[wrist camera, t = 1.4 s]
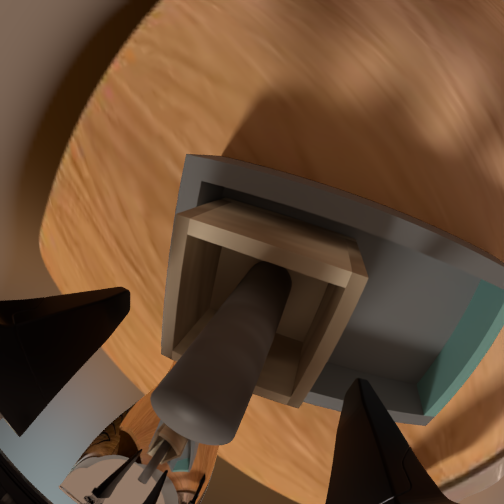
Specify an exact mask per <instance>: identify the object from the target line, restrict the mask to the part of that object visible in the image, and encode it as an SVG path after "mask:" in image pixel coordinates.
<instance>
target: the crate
mask: <svg viewBox="0 0 504 504" xmlns="http://www.w3.org/2000/svg"><path fill="white" fill-rule="evenodd" d="M367 280H368V274H367V271H366V268H365V265H364V262H363V259H362V256H361V253H360V250H359V247H358V244H357V241H356V239H354V238H351V237H348V236H345V235H343V234H340V233H337V232H334V231H331V230H328V229H325V228H322V227H319V226H316V225H313V224H310V223H307V222H304V221H301V220H298V219H295V218H292V217H288V216H285V215H282V214H279V213H276V212H273V211H269V210H266V209H263V208H259V207H256V206H253V205H249V204H246V203H243V202H239V201H236V200H232V199H229V198H222V199H219V200H216V201H213V202H210V203H207V204H204V205H201V206H198V207H195V208H192V209H189V210H186V211H183V212H180V213H177V214H176V215H175V221H174V228H173V235H172V242H171V249H170V257H169V265H168V274H167V283H166V293H165V304H164V316H163V330H162V347H161V354H162V355H164V356H166V357H168V358H170V359H172V360H174V361H176V364H175V365H174V366H173V367H172V369H171V370H170V371H169V372H168V374H167V375H166V376H165V377H164V379H163V380H162V381H161V382H160V384H159V385H158V386H157V387H156V389H155V390H154V391H153V392H152V394H151V397H150V401H151V405H152V407H153V410H154V411H155V413H156V414H157V416H158V417H159V418H160V419H161V420H162V421H163V422H164V423H165V424H166V425H167V426H168V427H170V428H171V429H172V430H174V431H175V432H177V433H178V434H180V435H182V436H184V437H186V438H188V439H190V440H192V441H195V442H198V443H202V444H206V445H224V444H227V443H229V442H231V441H232V440H233V438H234V436H235V434H236V432H237V430H238V427H239V425H240V422H241V420H242V418H243V415H244V413H245V411H246V408H247V406H248V403H249V401H250V398H251V396H252V393H253V394H255V395H258V396H261V397H264V398H267V399H270V400H273V401H276V402H279V403H282V404H286V405H289V406H292V407H296V408H299V407H300V405H301V404H302V402H303V401H304V399H305V398H306V396H307V394H308V393H309V391H310V390H311V388H312V386H313V385H314V383H315V381H316V380H317V378H318V376H319V375H320V373H321V371H322V370H323V368H324V366H325V364H326V363H327V361H328V359H329V357H330V355H331V354H332V352H333V350H334V348H335V346H336V344H337V343H338V341H339V339H340V337H341V335H342V333H343V331H344V329H345V327H346V325H347V323H348V321H349V319H350V317H351V315H352V313H353V311H354V309H355V307H356V305H357V303H358V300H359V298H360V296H361V294H362V292H363V289H364V287H365V285H366V283H367Z"/></svg>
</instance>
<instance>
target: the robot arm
mask: <svg viewBox="0 0 504 504" xmlns="http://www.w3.org/2000/svg"><path fill="white" fill-rule="evenodd" d="M129 310H130V291H129V290H127V289H125V288H123V287H115V288H108V289H101V290H94V291H87V292H79V293H72V294H65V295H58V296H50V297H46V298H44V297H43V298H34V299H25V300H7V301H6V300H5V301H0V420H1V419H2V418H4V419H5V421H6V422H7V423H8V424H9V425H10V427H11V428H12V429H13V430H14V432H15V433H16V434H17V435H18V436H19V437H20V436H21V435H22V434H23V433H24V432H25V431H26V430H27V428H28V427H29V426H30V425H31V424H32V422H33V421H34V420H35V419H36V418H37V416H38V415H39V414H40V413H41V412H42V411H43V409H44V408H45V407H46V406H47V404H49V402H50V401H51V400H52V399H53V398H54V397H55V395H57V393H58V392H59V391H60V390H61V389H62V388H63V387H64V385H65V384H66V383H67V382H68V381H69V380H70V379H71V378H72V377H73V376H74V375H75V373H76V372H77V371H78V370H79V369H80V368H81V367H82V366H83V365H84V364H85V363H86V361H88V359H89V358H90V357H91V356H92V355H93V354H94V353H95V352H96V351H97V350H98V349H99V348H100V347H101V346H102V345H103V344H104V343H105V342H106V340H107V339H108V338H109V337H110V336H111V335H112V333H113V332H114V331H115V329H116V328H117V327H118V325H119V324H120V323H121V322H122V320H123V319H124V318H125V317H126V315H127V314H128V312H129ZM0 504H53V503H52V502H51V501H50V500H48V499H47V498H46V497H45V496H44V495H43V494H42V493H41V492H40V491H39V490H37V488H35V487H34V486H33V485H32V484H31V483H30V482H29V481H28V480H27V479H26V478H25V476H24V475H23V474H22V473H21V472H20V471H19V470H18V469H17V468H16V467H15V466H14V464H13V463H12V462H11V461H10V460H9V459H8V457H7V456H6V455H5V454H4V453H3V451H2V450H1V449H0ZM325 504H459V503H455V502H453V501H451V500H449V499H448V498H447V497H446V496H445V495H444V494H443V493H442V492H441V490H440V489H439V488H438V486H437V485H436V484H435V482H434V481H433V480H432V478H431V477H430V476H429V474H428V473H427V472H426V470H425V469H424V468H423V466H422V465H421V463H420V462H419V460H418V459H417V457H416V455H415V454H414V452H413V451H412V449H411V447H409V444H408V443H407V441H406V439H405V438H404V436H403V434H402V433H401V431H400V430H399V428H398V426H397V425H396V423H395V422H394V420H393V418H392V417H391V415H390V414H389V412H388V411H387V409H386V407H385V406H384V404H383V403H382V401H381V400H380V398H379V396H378V395H377V393H376V392H375V390H374V389H373V387H372V386H371V384H370V383H369V381H368V380H367V379H363V378H359V377H358V378H356V379H355V380H354V382H353V383H352V385H351V386H350V388H349V389H348V390H347V392H346V394H345V397H344V401H343V406H342V411H341V415H340V420H339V424H338V429H337V434H336V442H335V450H334V457H333V464H332V470H331V477H330V482H329V488H328V493H327V499H326V503H325Z"/></svg>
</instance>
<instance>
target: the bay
mask: <svg viewBox="0 0 504 504" xmlns="http://www.w3.org/2000/svg"><path fill="white" fill-rule="evenodd" d="M222 198H229V199H232V200H236V201H239V202H243V203H246V204H249V205H253V206H256V207H259V208H263V209H266V210H269V211H273V212H276V213H279V214H282V215H285V216H288V217H292V218H295V219H298V220H301V221H304V222H307V223H310V224H313V225H316V226H319V227H322V228H325V229H328V230H331V231H334V232H337V233H340V234H343V235H345V236H348V237H351V238H354V239H356V241H357V244H358V247H359V250H360V253H361V256H362V259H363V262H364V265H365V268H366V271H367V274H368V280H367V283H366V285H365V287H364V289H363V292H362V294H361V296H360V298H359V300H358V303H357V305H356V307H355V309H354V311H353V313H352V315H351V317H350V319H349V321H348V323H347V325H346V327H345V329H344V331H343V333H342V335H341V337H340V339H339V341H338V343H337V344H336V346H335V348H334V350H333V352H332V354H331V355H330V357H329V359H328V361H327V363H326V364H325V366H324V368H323V370H322V371H321V373H320V375H319V376H318V378H317V380H316V381H315V383H314V385H313V386H312V388H311V390H310V391H309V393H308V394H307V396H306V398H305V399H304V401H303V402H306V403H310V404H313V405H317V406H321V407H324V408H328V409H332V410H336V411H342V406H343V401H344V397H345V394H346V392H347V390H348V389H349V388H350V386H351V385H352V383H353V382H354V380H355V379H356V378H358V377H359V378H363V379H367V380H368V381H369V383H370V384H371V386H372V387H373V389H374V390H375V392H376V393H377V395H378V396H379V398H380V400H381V401H382V403H383V404H384V406H385V407H386V409H387V411H388V412H389V414H390V415H391V417H392V418H393V420H394V422H399V423H406V424H414V425H423V426H426V425H427V424H428V423H429V422H430V421H431V420H432V419H433V418H434V417H435V416H436V415H437V414H438V413H439V412H440V411H441V410H442V408H443V407H444V406H445V405H446V404H447V403H448V402H449V401H450V400H451V398H452V397H453V396H454V395H455V394H456V393H457V391H458V390H459V389H460V388H461V386H462V385H463V384H464V383H465V381H466V380H467V379H468V378H469V376H470V375H471V374H472V372H473V371H474V370H475V368H476V367H477V366H478V364H479V363H480V361H481V360H482V358H483V357H484V356H485V354H486V353H487V351H488V350H489V348H490V347H491V345H492V343H493V342H494V340H495V339H496V337H497V335H498V334H499V332H500V330H501V329H502V327H503V325H504V263H503V262H502V261H500V260H499V259H497V258H496V257H495V256H493V255H491V254H489V253H487V252H486V251H484V250H482V249H480V248H478V247H476V246H474V245H472V244H470V243H468V242H466V241H464V240H462V239H460V238H458V237H456V236H454V235H452V234H450V233H447V232H445V231H443V230H441V229H439V228H437V227H434V226H432V225H430V224H428V223H425V222H423V221H421V220H418V219H416V218H414V217H411V216H409V215H406V214H404V213H402V212H399V211H397V210H394V209H392V208H389V207H387V206H384V205H381V204H379V203H376V202H373V201H371V200H368V199H365V198H363V197H360V196H357V195H354V194H351V193H349V192H346V191H343V190H340V189H337V188H334V187H331V186H328V185H325V184H322V183H319V182H315V181H312V180H309V179H306V178H302V177H299V176H296V175H292V174H289V173H285V172H282V171H278V170H275V169H271V168H267V167H264V166H260V165H256V164H252V163H248V162H244V161H240V160H236V159H232V158H227V157H223V156H213V155H195V154H186V158H185V163H184V168H183V173H182V178H181V183H180V189H179V194H178V200H177V206H176V212H175V215H176V214H177V213H180V212H183V211H186V210H189V209H192V208H195V207H198V206H201V205H204V204H207V203H210V202H213V201H216V200H219V199H222ZM174 221H175V218H174ZM173 228H174V225H173ZM172 235H173V232H172ZM171 242H172V239H171ZM170 249H171V246H170ZM169 257H170V254H169ZM168 265H169V262H168ZM167 274H168V270H167ZM166 283H167V279H166ZM165 293H166V289H165ZM164 304H165V299H164ZM163 316H164V311H163ZM162 330H163V324H162ZM161 346H162V341H161Z"/></svg>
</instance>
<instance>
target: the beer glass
mask: <svg viewBox="0 0 504 504" xmlns="http://www.w3.org/2000/svg"><path fill="white" fill-rule="evenodd" d="M175 364H176V361H174V362H173V364H172V366H171V368H170V370H171V369H172V367H173V366H174V365H175ZM170 370H169V371H170ZM169 371H168V372H169ZM167 374H168V373H167ZM167 374H166V375H167ZM159 384H160V383H159ZM159 384H158V385H159ZM158 385H157V386H158ZM157 386H156V387H157ZM156 387H155V388H154V389H152V390H151V391H150V392H149V393H148V394H146V395H145V396H144V397H143V398H141V399H140V400H139V401H138V402H136V403H135V404H134V405H132V406H131V407H130V408H128V409H127V410H126V411H124V412H123V413H122V414H121V415H119V417H117V418H116V419H115V420H114V421H113V422H111V423H110V424H109V425H108V426H107V427H106V428H105V429H104V430H103V431H102V432H101V433H100V434H99V435H98V436H97V437H96V438H95V439H94V440H93V442H92V443H91V444H90V446H89V447H88V448H87V449H86V450H85V452H84V453H83V454H82V455H81V457H80V458H79V460H78V461H77V462H76V464H75V465H74V467H73V468H72V469H71V471H70V472H69V474H68V476H67V477H66V478H65V480H64V481H63V483H62V484H61V485H60V486H59V488H60V489H61V490H62V491H63V492H64V493H65V494H67V495H68V496H69V497H70V498H71V499H73V500H74V501H75V502H76V503H78V504H200V503H201V501H202V499H203V496H204V494H205V492H206V490H207V488H208V484H209V481H210V478H211V475H212V472H213V468H214V464H215V460H216V456H217V452H218V448H219V445H206V444H202V443H198V442H195V441H192V440H190V439H188V438H186V437H184V436H182V435H180V434H178V433H177V432H175V431H174V430H172V429H171V428H170V427H168V426H167V425H166V424H165V423H164V422H163V421H162V420H161V419H160V418H159V417H158V416H157V414H156V413H155V411H154V410H153V407H152V405H151V401H150V397H151V394H152V392H153V391H154V390H155V389H156Z"/></svg>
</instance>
